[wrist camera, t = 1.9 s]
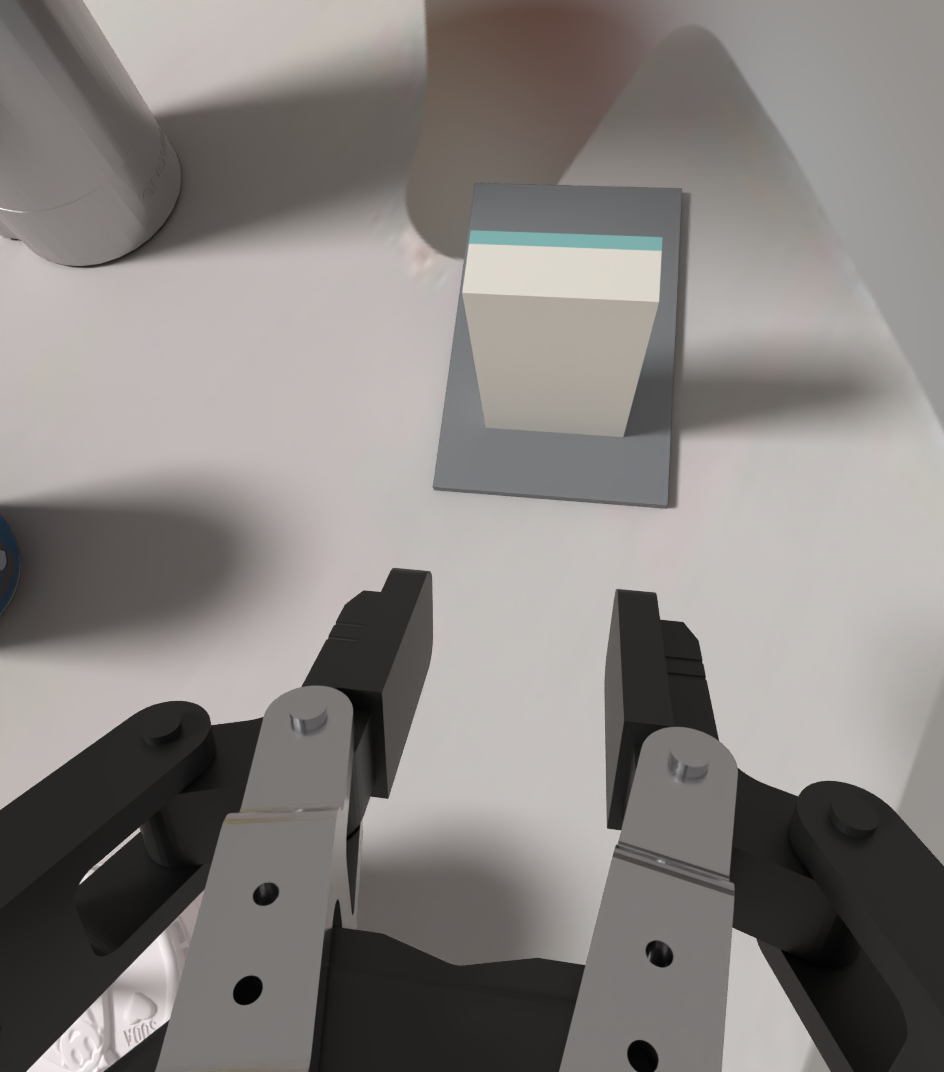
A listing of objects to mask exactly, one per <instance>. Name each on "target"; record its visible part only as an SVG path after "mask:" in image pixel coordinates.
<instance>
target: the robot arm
mask: <svg viewBox="0 0 944 1072" xmlns="http://www.w3.org/2000/svg"><path fill="white" fill-rule="evenodd" d="M180 185H181V168H180V162H179V160H178V157H177V155H176V152H175V150H174V148H173V147H172V145H171V143H170V142H169V140H168V139H167V137H166V135H165V134H164V132H163V130H162V129H161V127H160V126H159V124H158V122H157V121H156V119H155V117H154V116H153V114H152V113H151V111H150V109H149V108H148V106H147V104H146V103H145V101H144V100H143V98H142V96H141V95H140V93H139V91H138V90H137V88H136V86H135V84H134V83H133V81H132V80H131V78H130V76H129V75H128V73H127V71H126V70H125V68H124V67H123V65H122V63H121V62H120V60H119V59H118V57H117V55H116V54H115V52H114V50H113V49H112V47H111V46H110V44H109V42H108V41H107V39H106V37H105V36H104V34H103V33H102V31H101V29H100V28H99V26H98V24H97V23H96V21H95V20H94V18H93V16H92V15H91V13H90V11H89V10H88V8H87V7H86V5H85V3H84V2H83V0H0V235H1V236H3V237H4V238H15V239H19V240H21V241H23V242H24V243H25V244H26V245H27V246H28V247H29V248H30V249H31V250H32V251H33V252H34V253H36V254H37V255H39V256H41V257H43V258H45V259H47V260H48V261H52V262H55V263H59V264H63V265H72V266H86V265H94V264H101V263H104V262H107V261H110V260H113V259H116V258H119V257H121V256H123V255H125V254H127V253H129V252H131V251H133V250H134V249H136V248H138V247H139V246H140V245H142V244H143V243H144V242H146V241H147V240H148V239H150V238H151V237H152V236H153V235H154V234H155V233H156V232H157V230H158V229H159V228H160V227H161V226H162V225H163V224H164V223H165V221H166V220H167V218H168V216H169V215H170V213H171V212H172V210H173V208H174V206H175V203H176V201H177V198H178V195H179V192H180ZM432 645H433V600H432V575H431V572H430V571H422V570H411V569H400V568H393V569H392V570H391V571H390V574H389V576H388V578H387V580H386V582H385V584H384V586H383V589H382V591H381V592H374V591H362V592H361V593H360V594H358V595H357V596H356V597H354V598H353V599H352V600H350V601H349V602H348V603H347V604H345V606H344V608H343V609H342V611H341V613H340V615H339V617H338V619H337V621H336V625H334V626H333V628H332V630H331V632H330V634H329V637H328V640H326V642H325V643H324V645H323V647H322V649H321V651H320V653H319V655H318V657H317V659H316V660H315V662H314V664H313V666H312V668H311V670H310V672H309V674H308V676H307V677H306V679H305V681H304V683H303V685H302V687H300V688H297V689H294V690H291V691H289V692H286V693H284V694H283V695H281V696H280V697H278V698H277V699H276V700H274V701H273V702H272V703H271V705H270V706H269V707H268V709H267V710H266V712H265V715H264V717H262V718H258V719H254V720H249V721H241V722H234V723H226V724H218V725H211V722H210V717H209V715H208V713H207V712H206V711H205V710H204V708H202V707H201V706H199V705H197V704H194V703H191V702H186V701H169V702H163V703H159V704H155V705H152V706H150V707H147V708H145V709H143V710H141V711H139V712H137V713H136V714H134V715H133V716H131V717H130V718H128V719H127V720H126V721H124V722H123V723H121V724H120V725H119V726H117V727H116V728H114V729H113V730H112V731H110V732H109V733H107V734H106V735H105V736H103V737H102V738H100V739H99V740H98V741H96V742H95V743H93V744H92V745H91V746H89V747H88V748H86V749H85V750H84V751H82V752H81V753H79V754H78V755H77V756H75V757H74V758H72V759H71V760H70V761H68V762H67V763H65V764H64V765H63V766H61V767H60V768H58V769H57V770H56V771H54V772H53V773H51V774H50V775H49V776H47V777H46V778H44V779H43V780H42V781H40V782H39V783H37V784H36V785H35V786H33V787H32V788H30V789H29V790H28V791H26V792H25V793H23V794H22V795H21V796H19V797H18V798H16V799H15V800H14V801H12V802H11V803H9V804H8V805H7V806H5V807H4V808H2V809H1V810H0V1072H26V1071H27V1070H28V1069H29V1068H30V1067H31V1066H32V1065H33V1064H34V1063H35V1062H36V1061H37V1060H38V1059H39V1058H40V1057H41V1056H42V1055H43V1054H44V1053H45V1052H46V1051H47V1050H48V1049H49V1048H50V1047H51V1046H52V1045H53V1044H54V1043H55V1042H56V1041H57V1040H58V1039H59V1038H60V1037H61V1036H62V1035H63V1034H64V1033H65V1032H66V1031H67V1030H68V1029H69V1028H70V1027H71V1026H72V1024H73V1023H74V1022H75V1021H76V1020H77V1019H78V1018H79V1017H80V1016H81V1015H82V1014H83V1013H84V1012H85V1011H86V1010H87V1009H88V1008H89V1007H90V1006H91V1005H92V1004H93V1003H94V1002H95V1001H96V1000H97V999H98V998H99V997H100V996H101V995H102V994H103V993H104V992H105V991H106V990H107V989H108V988H109V987H110V986H111V985H112V984H113V983H114V982H115V981H116V980H117V978H118V977H119V976H120V975H121V974H122V973H123V972H124V971H125V970H126V969H127V968H128V967H129V966H130V965H131V964H132V963H133V962H134V961H135V960H136V959H137V958H138V957H139V956H140V955H141V954H142V953H143V952H144V951H145V950H146V949H147V948H148V947H149V946H150V945H151V944H152V943H153V942H154V941H155V940H156V939H157V938H158V937H159V936H160V935H161V934H162V932H163V931H164V930H165V929H166V928H167V927H168V926H169V925H170V924H171V923H172V922H173V921H174V920H175V919H176V918H177V917H178V916H179V915H180V914H181V913H182V912H183V911H184V910H185V909H186V908H187V907H188V906H189V905H190V904H191V903H192V902H193V901H194V900H195V899H196V898H197V897H198V896H199V895H200V894H201V893H202V892H203V891H204V894H203V898H202V901H201V905H200V909H199V913H198V916H197V920H196V924H195V927H194V931H193V935H192V938H191V942H190V946H189V950H188V953H187V957H186V961H185V964H184V968H183V972H182V975H181V979H180V983H179V987H178V990H177V994H176V998H175V1001H174V1005H173V1009H172V1013H171V1016H170V1019H169V1020H168V1021H167V1022H165V1023H164V1024H163V1025H162V1026H160V1027H159V1028H158V1029H157V1030H155V1031H154V1032H153V1033H152V1034H150V1035H149V1036H148V1037H146V1038H145V1039H144V1040H143V1041H141V1042H140V1043H139V1044H138V1045H136V1046H135V1047H134V1048H133V1049H131V1050H130V1051H129V1052H127V1053H126V1054H125V1055H124V1056H122V1057H121V1058H120V1059H119V1060H117V1061H116V1062H115V1063H114V1064H112V1065H111V1066H110V1067H108V1068H107V1069H106V1070H105V1071H103V1072H721V1070H722V1057H723V1044H724V1030H725V1017H726V1004H727V990H728V977H729V964H730V950H731V937H732V927H733V928H735V929H737V930H739V931H742V932H744V933H746V934H748V935H750V936H753V937H755V938H757V942H758V945H759V947H760V949H761V951H762V953H763V955H764V957H765V958H766V960H767V962H768V963H769V965H770V967H771V969H772V970H773V972H774V974H775V976H776V977H777V979H778V981H779V983H780V984H781V986H782V988H783V989H784V991H785V993H786V995H787V996H788V998H789V1000H790V1002H791V1003H792V1005H793V1007H794V1009H795V1010H796V1012H797V1014H798V1015H799V1017H800V1019H801V1021H802V1022H803V1024H804V1026H805V1028H806V1029H807V1031H808V1033H809V1035H810V1036H811V1038H812V1040H813V1041H814V1043H815V1045H816V1047H817V1048H818V1050H819V1052H820V1054H821V1055H822V1057H823V1059H824V1060H825V1062H826V1064H827V1066H828V1067H829V1069H830V1071H831V1072H944V866H943V865H942V864H941V863H940V862H939V860H938V859H936V857H935V856H934V855H933V854H932V853H931V851H930V850H929V849H928V848H927V847H926V846H925V845H924V844H923V843H922V841H921V840H920V839H919V838H918V837H917V836H916V835H915V833H914V832H913V831H912V830H911V829H910V828H909V827H908V826H907V824H906V823H905V822H904V821H903V820H902V819H901V818H900V817H899V815H898V814H897V813H896V812H895V811H894V810H893V809H892V808H891V807H890V806H889V805H888V804H886V803H885V802H884V801H883V800H881V799H880V798H878V797H877V796H875V795H874V794H872V793H870V792H868V791H866V790H864V789H862V788H860V787H857V786H854V785H851V784H848V783H843V782H837V781H821V782H817V783H813V784H811V785H809V786H807V787H806V788H805V789H803V790H802V792H801V793H800V795H799V797H798V796H796V795H793V794H790V793H787V792H785V791H782V790H779V789H777V788H774V787H771V786H768V785H766V784H764V783H761V782H759V781H757V780H755V779H753V778H752V777H750V776H748V775H747V774H745V773H744V772H742V771H741V770H740V769H739V768H737V764H736V761H735V759H734V757H733V755H732V754H731V753H730V751H729V750H728V749H727V748H726V747H725V746H724V745H723V744H722V743H721V742H719V739H718V734H717V729H716V724H715V719H714V714H713V709H712V704H711V700H710V695H709V690H708V685H707V680H705V678H706V675H705V670H704V665H703V664H702V656H701V651H700V646H699V641H698V639H697V638H696V637H695V636H694V634H693V633H692V632H691V631H690V630H689V628H688V627H687V626H686V625H685V624H684V622H678V621H667V620H660V616H659V608H658V601H657V595H656V593H654V592H643V591H632V590H622V589H616V592H615V597H614V604H613V612H612V619H611V626H610V634H609V641H608V648H607V656H606V666H605V744H606V800H607V828H608V829H615V830H621V834H620V838H619V842H618V845H616V847H615V850H614V853H613V857H612V861H611V865H610V869H609V873H608V877H607V881H606V885H605V889H604V893H603V897H602V901H601V905H600V909H599V913H598V917H597V921H596V925H595V929H594V933H593V937H592V941H591V945H590V949H589V953H588V957H587V961H586V965H580V964H574V963H567V962H561V961H554V960H548V959H541V958H531V959H522V960H513V961H503V962H494V963H484V964H475V965H466V966H457V965H452V964H449V963H447V962H445V961H442V960H440V959H438V958H436V957H433V956H431V955H429V954H427V953H425V952H422V951H420V950H418V949H416V948H413V947H411V946H409V945H407V944H405V943H402V942H400V941H398V940H396V939H393V938H391V937H389V936H387V935H385V934H381V933H374V932H368V931H361V930H357V914H358V899H359V884H360V869H361V854H362V839H363V822H362V819H363V816H364V813H365V811H366V808H367V805H368V802H369V799H370V796H371V797H379V798H386V799H388V798H389V795H390V791H391V788H392V785H393V782H394V779H395V775H396V772H397V769H398V766H399V762H400V759H401V756H402V753H403V750H404V746H405V743H406V740H407V737H408V733H409V730H410V727H411V724H412V721H413V717H414V714H415V711H416V708H417V704H418V701H419V698H420V695H421V692H422V688H423V685H424V682H425V679H426V675H427V672H428V669H429V665H430V660H431V654H432ZM139 827H140V831H141V832H139V833H138V834H137V835H136V836H135V837H134V838H132V839H131V840H130V841H129V842H128V843H127V844H126V845H124V846H123V847H122V848H121V849H120V850H119V851H117V852H116V853H115V854H114V855H113V856H112V857H111V858H109V859H108V860H107V861H106V862H105V863H104V864H102V865H101V866H100V867H99V868H98V869H97V870H96V871H94V872H93V873H92V874H91V875H90V876H89V877H87V878H86V879H85V880H84V881H83V882H82V883H81V884H80V882H81V880H82V879H83V878H84V876H85V875H86V874H87V873H88V871H89V870H90V869H92V868H93V867H94V866H95V865H96V864H97V863H98V862H99V861H101V860H102V859H103V858H104V857H105V856H106V855H108V854H109V853H110V852H111V851H112V850H113V849H115V848H116V847H117V846H118V845H119V844H120V843H122V842H123V841H124V840H125V839H126V838H127V837H128V836H130V835H131V834H132V833H133V832H134V831H135V830H137V829H138V828H139Z"/></svg>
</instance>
